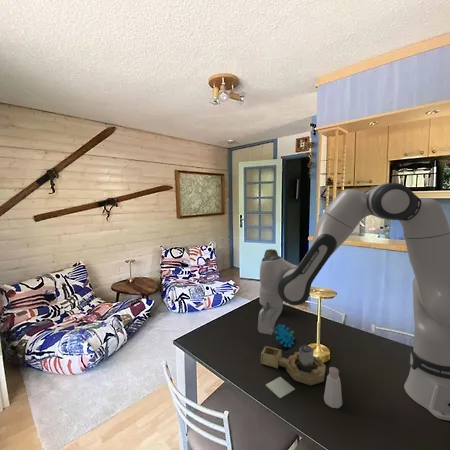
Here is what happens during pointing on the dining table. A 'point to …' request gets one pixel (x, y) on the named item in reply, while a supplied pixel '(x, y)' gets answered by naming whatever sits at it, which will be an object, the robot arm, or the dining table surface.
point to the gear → (284, 335)
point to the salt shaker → (333, 389)
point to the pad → (280, 387)
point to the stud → (305, 358)
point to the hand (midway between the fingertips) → (270, 332)
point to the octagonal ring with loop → (294, 365)
